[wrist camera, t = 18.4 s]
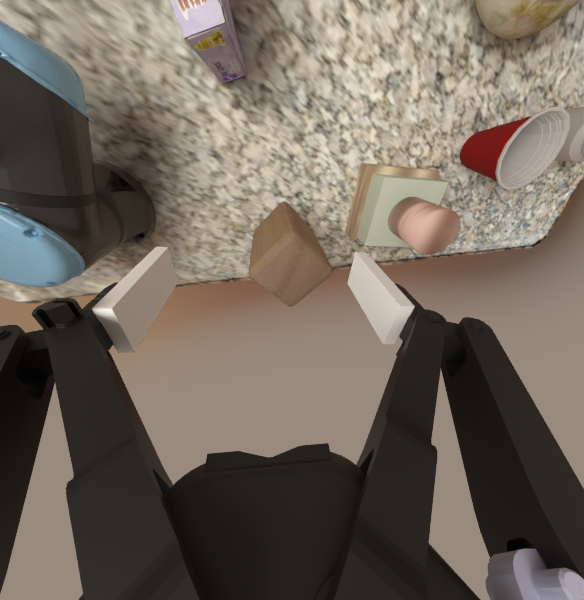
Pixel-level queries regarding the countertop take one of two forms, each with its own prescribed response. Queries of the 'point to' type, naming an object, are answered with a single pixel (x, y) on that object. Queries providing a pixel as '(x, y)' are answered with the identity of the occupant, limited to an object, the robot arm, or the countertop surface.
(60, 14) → the countertop surface
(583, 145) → the can
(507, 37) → the sugar bowl
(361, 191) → the tower base
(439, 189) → the tower top
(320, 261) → the block
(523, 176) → the plastic cup
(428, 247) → the pink rounded cylinder
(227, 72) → the cake pan box
